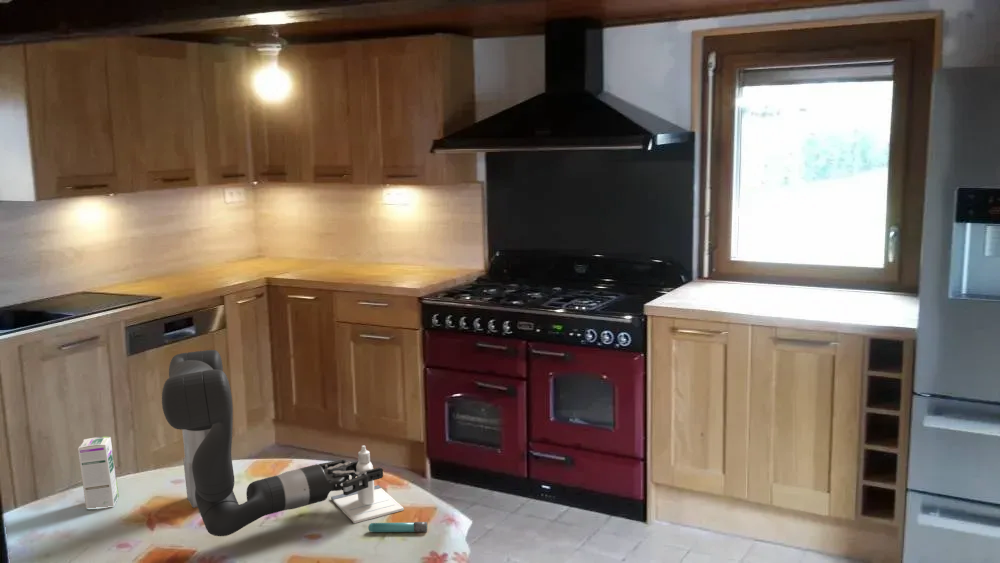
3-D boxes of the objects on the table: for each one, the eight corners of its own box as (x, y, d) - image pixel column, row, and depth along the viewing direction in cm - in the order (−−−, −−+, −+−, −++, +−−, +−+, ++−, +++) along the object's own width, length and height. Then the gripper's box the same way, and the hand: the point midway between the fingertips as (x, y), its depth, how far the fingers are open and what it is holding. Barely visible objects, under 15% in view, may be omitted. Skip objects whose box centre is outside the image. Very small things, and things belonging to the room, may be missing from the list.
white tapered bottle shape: (380, 494, 191) (377, 441, 189) (372, 505, 186) (369, 451, 184) (361, 494, 192) (358, 441, 190) (352, 504, 187) (349, 450, 184)
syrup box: (114, 507, 192) (107, 443, 190) (85, 511, 191) (77, 447, 188) (119, 497, 198) (111, 435, 195) (90, 500, 196) (82, 438, 194)
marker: (367, 533, 176) (367, 524, 175) (369, 529, 177) (369, 520, 177) (426, 533, 175) (426, 524, 175) (428, 529, 177) (427, 520, 176)
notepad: (354, 523, 181) (354, 520, 180) (331, 499, 193) (330, 496, 192) (403, 510, 186) (403, 507, 186) (378, 487, 198) (378, 485, 198)
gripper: (313, 480, 173) (390, 460, 183) (285, 459, 185) (359, 441, 194) (315, 517, 175) (392, 495, 184) (288, 493, 186) (361, 474, 196)
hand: (375, 467), depth 189 cm, fingers closed on white tapered bottle shape, 5 cm apart
